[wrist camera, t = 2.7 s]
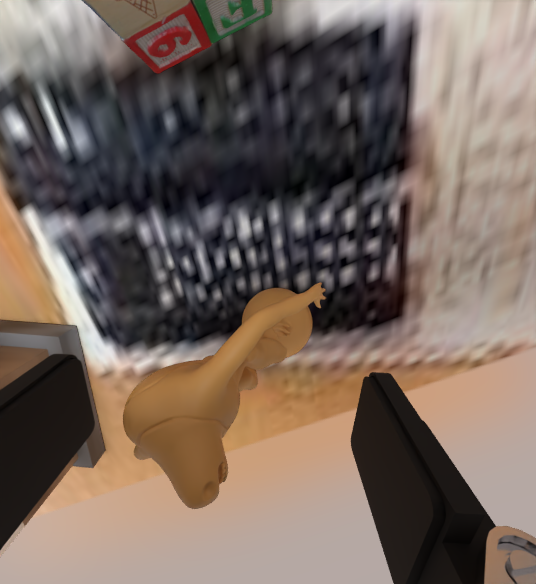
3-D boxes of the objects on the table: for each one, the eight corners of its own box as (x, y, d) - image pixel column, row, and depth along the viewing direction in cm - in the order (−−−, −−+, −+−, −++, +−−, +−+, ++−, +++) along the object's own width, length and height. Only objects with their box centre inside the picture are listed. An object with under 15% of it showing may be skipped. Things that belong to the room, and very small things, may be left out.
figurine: (261, 366, 18) (225, 643, 7) (190, 316, 17) (12, 545, 6) (346, 280, 16) (508, 494, 4) (269, 215, 15) (223, 276, 3)
